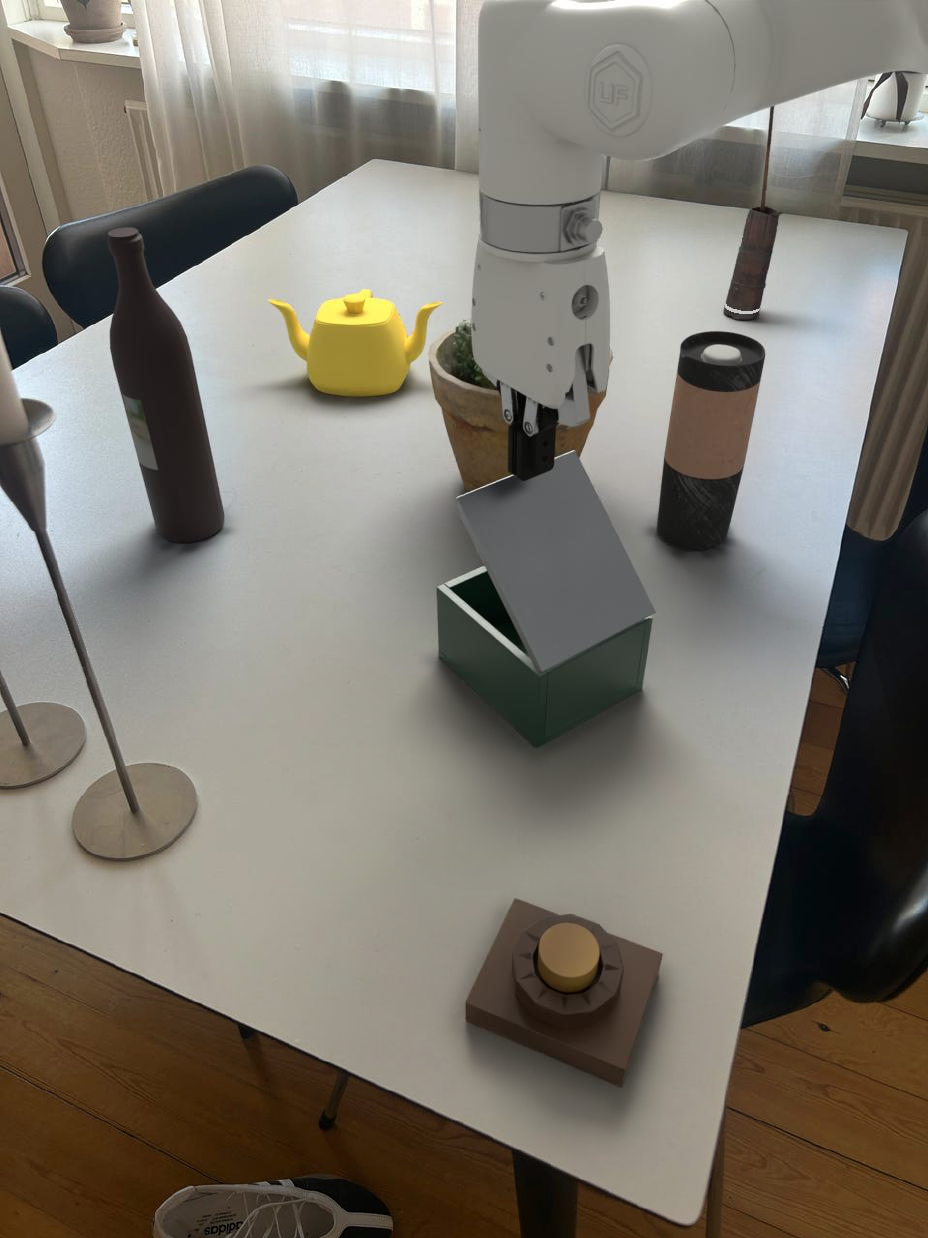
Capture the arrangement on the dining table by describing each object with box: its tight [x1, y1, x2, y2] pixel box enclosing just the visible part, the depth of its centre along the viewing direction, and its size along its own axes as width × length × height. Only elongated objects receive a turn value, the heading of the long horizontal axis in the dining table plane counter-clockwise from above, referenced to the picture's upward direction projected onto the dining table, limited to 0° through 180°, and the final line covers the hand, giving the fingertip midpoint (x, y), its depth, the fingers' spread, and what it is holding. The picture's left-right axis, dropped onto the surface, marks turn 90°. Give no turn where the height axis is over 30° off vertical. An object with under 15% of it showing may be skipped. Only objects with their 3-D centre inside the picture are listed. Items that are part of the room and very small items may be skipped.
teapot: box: [267, 288, 443, 397], centre depth 125 cm, size 22×16×11 cm
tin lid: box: [452, 450, 657, 673], centre depth 74 cm, size 14×12×1 cm
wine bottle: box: [106, 226, 225, 544], centre depth 91 cm, size 7×7×30 cm
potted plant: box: [427, 317, 614, 493], centre depth 98 cm, size 18×19×25 cm
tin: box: [435, 565, 654, 749], centre depth 81 cm, size 14×12×8 cm
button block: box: [464, 897, 664, 1088], centre depth 59 cm, size 10×8×4 cm
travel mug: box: [656, 330, 766, 553], centre depth 93 cm, size 8×8×20 cm
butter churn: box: [723, 106, 784, 321], centre depth 132 cm, size 9×10×28 cm
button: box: [538, 923, 600, 993], centre depth 58 cm, size 4×4×2 cm
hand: (530, 470), depth 72 cm, fingers closed
